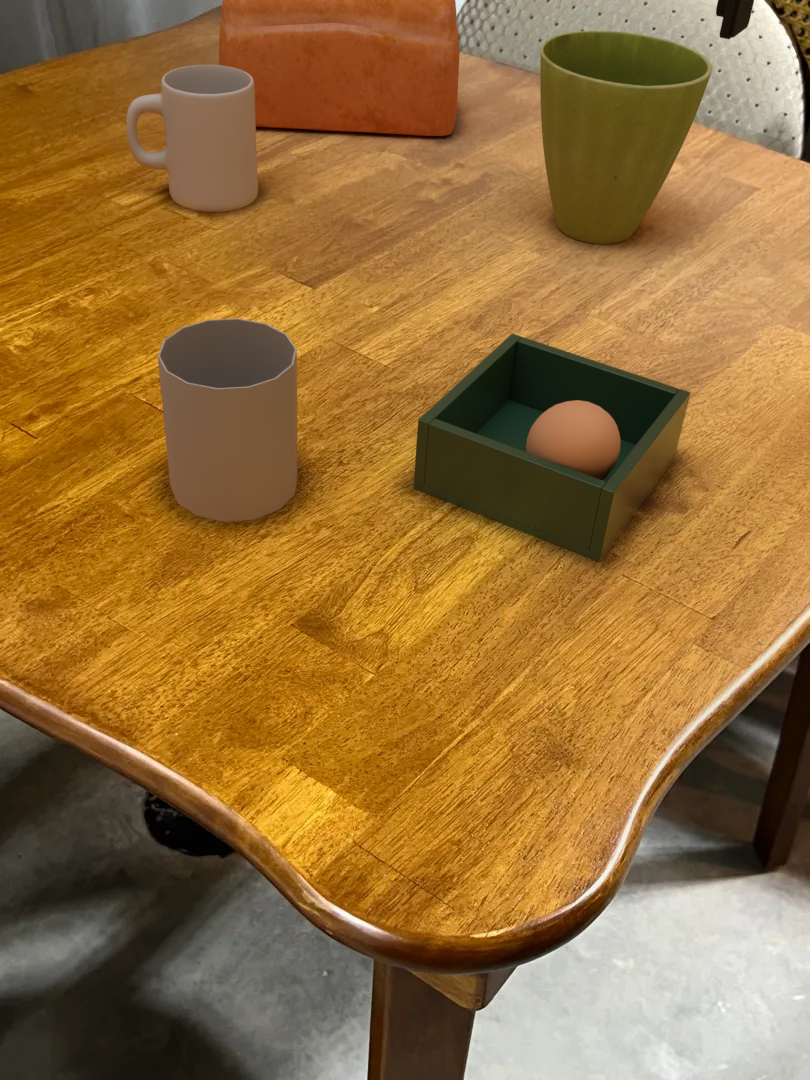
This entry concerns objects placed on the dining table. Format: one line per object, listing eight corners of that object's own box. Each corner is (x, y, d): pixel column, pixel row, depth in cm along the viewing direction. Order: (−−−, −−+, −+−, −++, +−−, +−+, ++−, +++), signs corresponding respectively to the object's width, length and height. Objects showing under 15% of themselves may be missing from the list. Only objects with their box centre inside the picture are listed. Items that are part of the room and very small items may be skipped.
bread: (230, 87, 136) (223, -61, 125) (452, 99, 136) (464, -47, 126) (215, 130, 125) (207, -27, 115) (456, 143, 126) (469, -12, 116)
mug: (257, 176, 116) (253, 64, 109) (259, 212, 110) (256, 95, 103) (135, 177, 114) (123, 62, 107) (130, 213, 108) (118, 94, 101)
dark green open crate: (674, 459, 82) (691, 392, 78) (599, 563, 73) (613, 492, 69) (503, 398, 87) (512, 332, 83) (412, 488, 78) (417, 419, 74)
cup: (145, 482, 77) (130, 350, 70) (236, 432, 82) (230, 305, 75) (232, 539, 73) (225, 405, 66) (323, 483, 78) (324, 353, 71)
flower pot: (688, 215, 114) (726, 48, 104) (656, 277, 104) (694, 97, 93) (544, 185, 118) (567, 20, 108) (498, 241, 107) (518, 65, 97)
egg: (518, 502, 77) (554, 483, 69) (509, 418, 78) (544, 388, 70) (600, 496, 78) (645, 476, 70) (590, 413, 79) (634, 383, 71)
